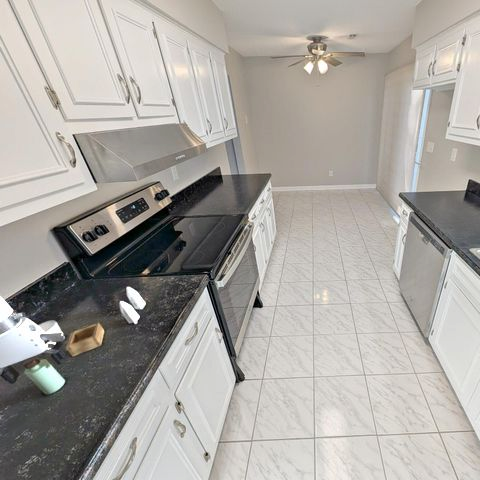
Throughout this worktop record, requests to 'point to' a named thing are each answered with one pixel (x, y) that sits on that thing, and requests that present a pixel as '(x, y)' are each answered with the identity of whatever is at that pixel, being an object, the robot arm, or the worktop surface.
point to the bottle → (43, 375)
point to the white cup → (50, 328)
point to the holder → (85, 339)
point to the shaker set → (128, 309)
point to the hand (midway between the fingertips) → (39, 369)
